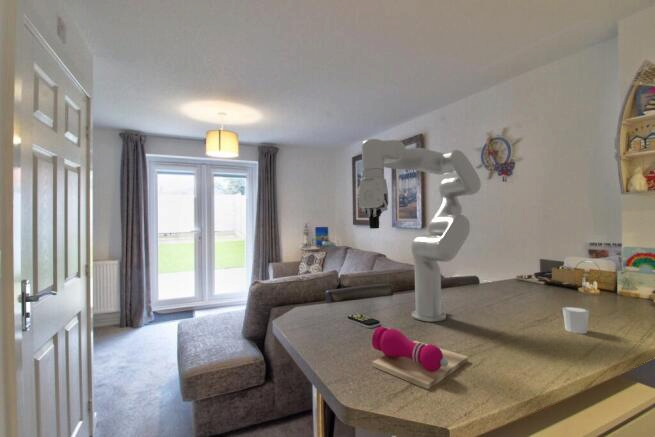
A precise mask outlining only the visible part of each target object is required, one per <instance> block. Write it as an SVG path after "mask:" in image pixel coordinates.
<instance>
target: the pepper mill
mask: <svg viewBox="0 0 655 437" xmlns="http://www.w3.org/2000/svg"><path fill="white" fill-rule="evenodd" d="M418 342H419V343H414V342H413V341H412V340H410V339H409V338H408V337H406V336H405V334H404V333H402V332H401V331H400V330H398V329H395V328H386V327H384V326H377V327H376V328H375V329H374V331H373V333H372V336H371V344H372V347H373V349H374V350H377V351H380V352H382V353H383V355H384V356H385V355H386V356H389V357H407V358H410V359H412V360H413V361H414V362H415V363H418V364H421V365H422V366H423V367H424V368H425V369H426V370H429V371H436V370H438V369H439V368H440V367H441V365H442V366H444V367H445V366H447V365H448V361H447V360H446V359H444V358H443V354H442V351H441V350H440V349H439V348H440V347H438V346H437V345H435V344H427V345H425V344H426V343H424V344H422V343H423V342H421V341H418ZM420 342H421V343H420Z"/></svg>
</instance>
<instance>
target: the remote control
mask: <svg viewBox="0 0 655 437" xmlns="http://www.w3.org/2000/svg"><path fill="white" fill-rule="evenodd" d="M346 320H347V321H349V322H350V321H351V323H354V324H356V325H358V326H361V327H364V328H367V329H372V328H375V327H376V328H377V327H380V325H381V322H380V320H378V319H376V318H372V317H369V316H366V315H363V314H361V313H354V314H351V315H350V314H349V315H348V316H347V319H346Z"/></svg>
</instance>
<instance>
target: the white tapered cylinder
mask: <svg viewBox="0 0 655 437" xmlns="http://www.w3.org/2000/svg"><path fill="white" fill-rule="evenodd" d="M589 313H590V312H589V310H587V309H586V308H585V309H584V308H581V307H574V306H565V307H562V314H563V321H564V329H565V331H566V332H567V331H568V332H570V333H574V334H583V335H584V334H587V333H588V326H589Z"/></svg>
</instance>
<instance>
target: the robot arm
mask: <svg viewBox="0 0 655 437" xmlns="http://www.w3.org/2000/svg"><path fill="white" fill-rule="evenodd" d="M361 169H362V170H361V172H362V174H360V178H361V179H362V180H360V182H359V189H358V190H359V192H358V207H359V208H360V209H361V212H363V213H366V214H367V217H368V218H369V229H375V230H376V229H379V228H380V217H381V216H382V213H384V212H387V211H388V210H389V208H388V206H389V191H388V184H387V179H386V178H385V169H394V170H406V171H407V170H408V171H419V172H425V173H429V174H433V175H447V174H452V173H453V174H454V173H455V174H456V175H450V176H447V177H444V178H443V179H441V181H440V183H439V187H438V191H439V194H440V200H441V202H440V203H441V204H440V206H439V208H438V209H437V211H436V212H435V214H434V216H433V217H432V218H431V220H430V222H429V224H428V226H427V232H428V234H420V235H418V236H416V237H414V238H413V240H412V241H411V246H410V248H411V253H412V254H411V255H412V258H413V265H414V297H415V299H414V300H415V310H413V311H412V312H411V317H412V318H413V319H415V320H418V321H422V322H432V323H433V322H434V323H435V322H442V321H445V320H446V319H447V315H446V314H445V313H444V312H443V311H442V309H445V307H446V304H445V303H444V302H442V281H441V280H442V279H441V275H442V274H441V268H440V266H439V262H442V263H449V262H451V261H452V260H453V259H455V258H456V256H457V255H458V254H459V251H460V250H461V249H462V247H463V245H464V244H465V242H466V240H467V239H468V236H469V235H470V232H471V231H470V230H471V223H470V221H469V218H468V217H467V216H466V215H463V214H462V212H463V208H462V205H461V203H460V201H459V198H458V197H462V196H464V197H465V196H473V195H475V194H477V193H479V191H480V189H481V185H482V183H481V179H480V177H479V176H480V175H479V174H478V173H477V171H476V169H475V168H474V166H473V164H472V163H471V161H470V160H469V158H468V156H466V154H465V153H464V152H463V151H461V150H459V149H453V150H449V151H445V152H438V151H434V150H430V149H429V148H425V147H414V148H413V147H412V148H409V149H408V148H406V146H405V144H404V143H403V142H402V141H400V140H398V139H397V140H396V139H390V140H389V139H388V140H387V139H386V140H385V139H384V140H381V139H378V138H370V139H369V138H368V139H367V140H364V141H363V142H362V143H361Z"/></svg>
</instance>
